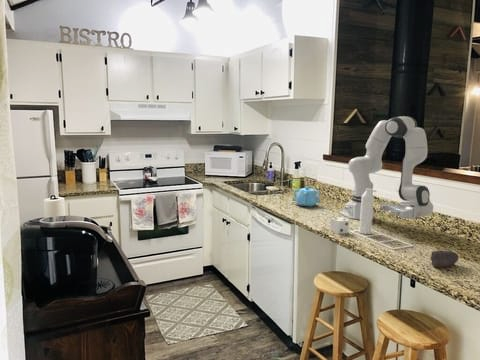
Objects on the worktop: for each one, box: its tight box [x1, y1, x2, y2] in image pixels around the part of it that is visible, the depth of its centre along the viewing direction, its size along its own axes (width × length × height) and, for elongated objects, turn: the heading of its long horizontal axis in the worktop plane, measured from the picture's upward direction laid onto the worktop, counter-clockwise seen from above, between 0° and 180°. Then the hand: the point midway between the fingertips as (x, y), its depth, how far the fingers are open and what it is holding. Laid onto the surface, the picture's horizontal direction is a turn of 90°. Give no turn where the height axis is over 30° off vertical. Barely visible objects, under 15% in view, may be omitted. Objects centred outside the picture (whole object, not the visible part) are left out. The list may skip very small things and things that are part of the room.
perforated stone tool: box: [430, 250, 459, 268], centre depth 164 cm, size 15×5×7 cm, turn 108°
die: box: [330, 216, 350, 235], centre depth 211 cm, size 7×7×7 cm
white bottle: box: [358, 188, 377, 235], centre depth 207 cm, size 9×6×25 cm
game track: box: [349, 229, 415, 251], centre depth 200 cm, size 31×14×1 cm, turn 25°
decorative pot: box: [292, 186, 321, 208], centre depth 273 cm, size 16×16×14 cm
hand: (384, 210), depth 210 cm, fingers open, 8 cm apart
